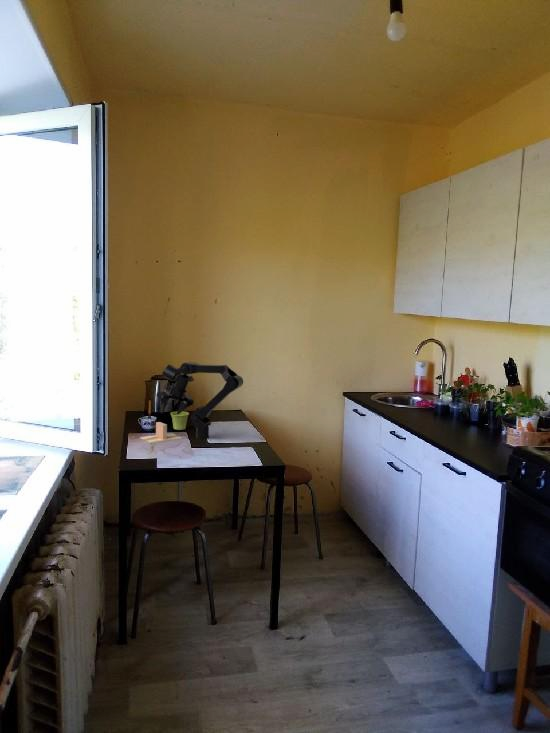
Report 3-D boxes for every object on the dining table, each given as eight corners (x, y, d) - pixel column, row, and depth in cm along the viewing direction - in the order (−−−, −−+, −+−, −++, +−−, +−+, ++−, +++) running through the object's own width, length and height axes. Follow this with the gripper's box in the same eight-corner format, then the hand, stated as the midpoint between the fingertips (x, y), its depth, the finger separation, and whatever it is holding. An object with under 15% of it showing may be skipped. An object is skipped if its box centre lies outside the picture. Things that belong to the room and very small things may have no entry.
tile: (166, 439, 261) (166, 424, 260) (162, 439, 260) (163, 425, 259) (159, 435, 267) (159, 421, 266) (155, 436, 265) (156, 422, 264)
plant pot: (191, 431, 281) (191, 414, 280) (173, 432, 277) (173, 415, 276) (185, 427, 290) (186, 411, 288) (168, 428, 286) (168, 412, 284)
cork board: (183, 439, 264) (183, 437, 264) (151, 444, 253) (151, 443, 253) (170, 434, 273) (170, 432, 273) (139, 439, 262) (139, 437, 262)
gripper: (189, 381, 279) (178, 407, 282) (157, 375, 266) (146, 403, 270) (199, 391, 271) (188, 418, 274) (166, 385, 258) (155, 414, 262)
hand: (169, 413), depth 270 cm, fingers open, 9 cm apart
